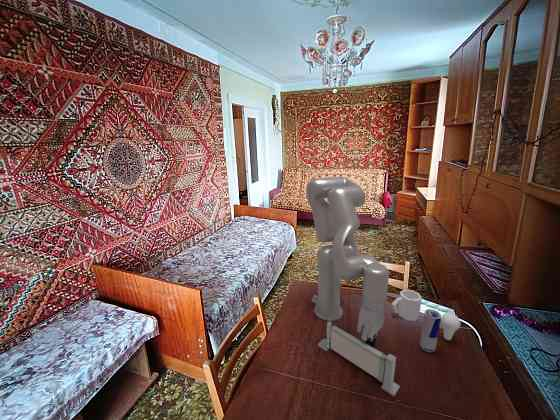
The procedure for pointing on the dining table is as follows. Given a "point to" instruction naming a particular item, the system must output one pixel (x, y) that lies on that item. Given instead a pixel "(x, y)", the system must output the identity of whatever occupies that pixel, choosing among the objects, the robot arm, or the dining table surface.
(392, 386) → the gate posts
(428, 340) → the beverage can
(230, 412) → the dining table surface
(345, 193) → the robot arm
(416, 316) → the mug
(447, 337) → the lightbulb
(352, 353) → the bar
